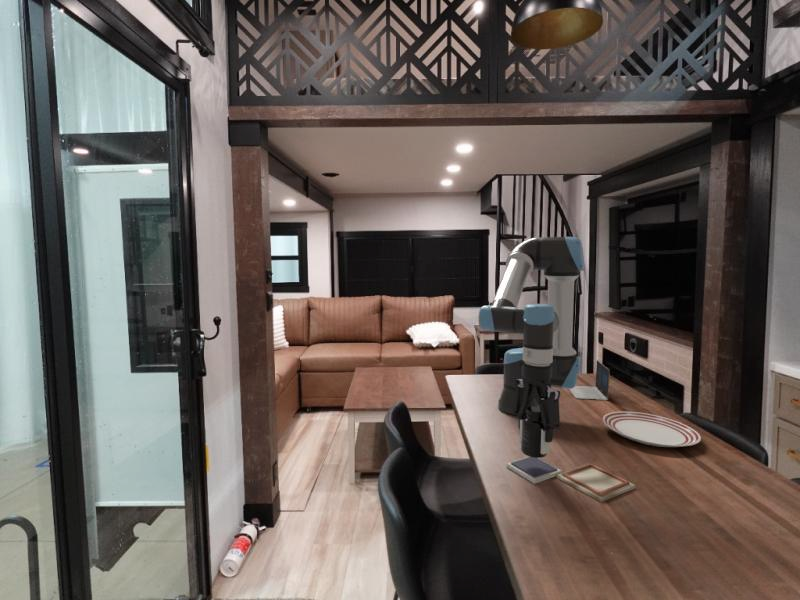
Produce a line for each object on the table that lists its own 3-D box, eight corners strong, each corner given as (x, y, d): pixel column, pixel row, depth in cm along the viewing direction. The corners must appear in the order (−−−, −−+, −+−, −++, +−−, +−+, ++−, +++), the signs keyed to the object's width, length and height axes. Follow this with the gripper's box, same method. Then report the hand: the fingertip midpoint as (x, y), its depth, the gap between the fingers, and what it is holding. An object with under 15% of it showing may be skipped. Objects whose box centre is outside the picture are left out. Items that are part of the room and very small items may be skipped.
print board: (556, 477, 110) (556, 472, 110) (589, 465, 116) (589, 461, 116) (601, 502, 99) (601, 496, 98) (635, 488, 105) (635, 482, 105)
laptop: (566, 386, 191) (567, 358, 189) (596, 388, 188) (597, 359, 187) (575, 399, 173) (577, 368, 172) (608, 401, 171) (610, 370, 170)
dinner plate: (684, 425, 146) (685, 416, 145) (714, 460, 120) (715, 449, 120) (597, 415, 155) (598, 407, 154) (608, 446, 129) (608, 436, 129)
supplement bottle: (549, 459, 109) (551, 414, 108) (522, 457, 110) (523, 412, 109) (545, 448, 116) (547, 405, 115) (519, 446, 117) (521, 404, 116)
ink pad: (506, 467, 115) (506, 462, 115) (532, 458, 120) (533, 454, 120) (534, 483, 107) (534, 478, 107) (561, 474, 112) (561, 469, 111)
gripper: (500, 357, 118) (498, 436, 120) (557, 373, 100) (554, 466, 102) (520, 354, 121) (517, 431, 123) (578, 369, 104) (574, 459, 106)
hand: (534, 447), depth 113 cm, fingers closed on supplement bottle, 7 cm apart
